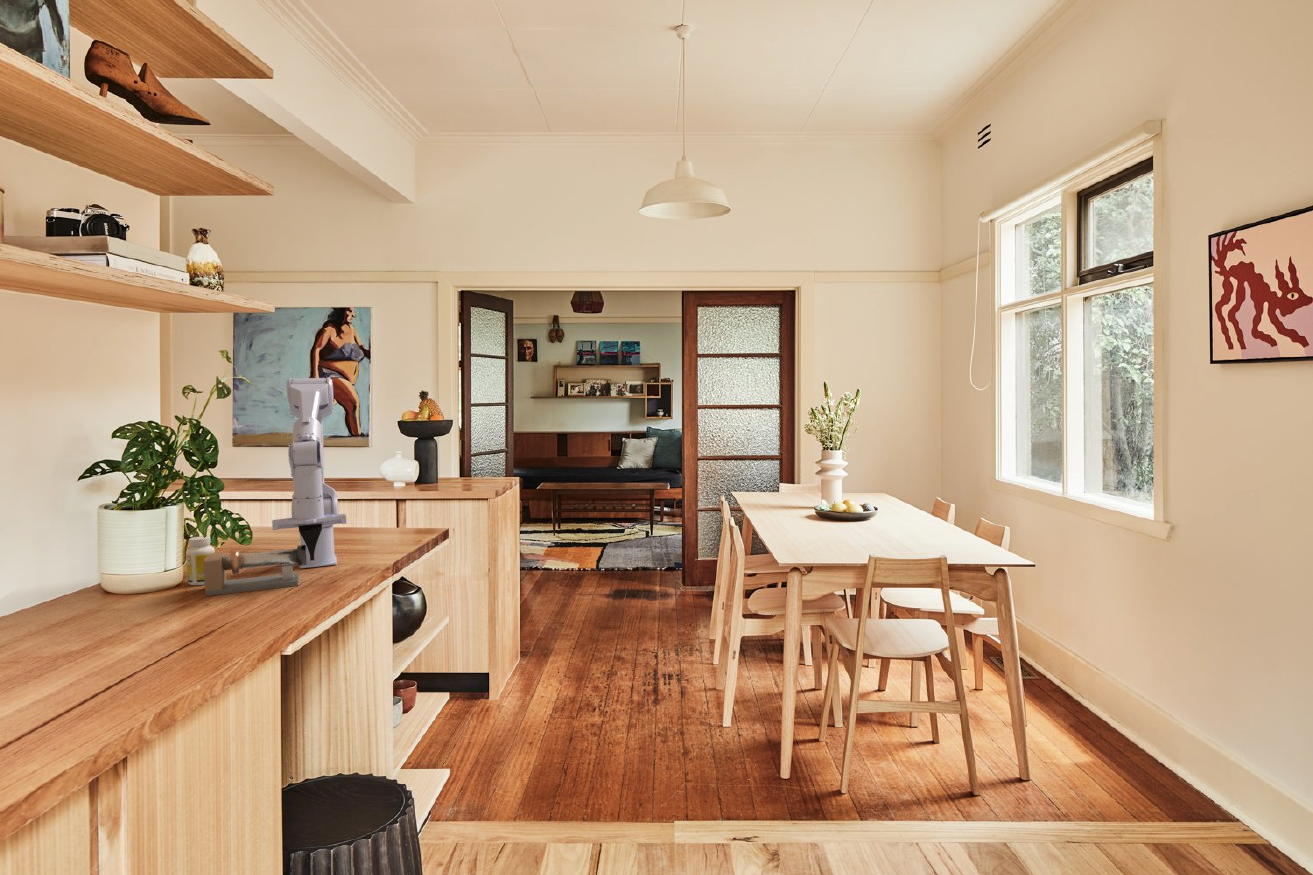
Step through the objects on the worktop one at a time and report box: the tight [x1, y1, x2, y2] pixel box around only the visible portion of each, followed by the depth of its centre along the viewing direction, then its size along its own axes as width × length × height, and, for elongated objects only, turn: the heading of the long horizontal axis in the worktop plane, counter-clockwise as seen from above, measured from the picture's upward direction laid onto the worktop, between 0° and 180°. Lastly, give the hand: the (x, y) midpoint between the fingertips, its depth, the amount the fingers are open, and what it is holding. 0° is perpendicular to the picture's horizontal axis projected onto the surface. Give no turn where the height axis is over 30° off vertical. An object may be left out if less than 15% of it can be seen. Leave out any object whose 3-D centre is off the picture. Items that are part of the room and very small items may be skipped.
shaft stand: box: [203, 552, 300, 597], centre depth 166 cm, size 8×17×7 cm, turn 113°
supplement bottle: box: [185, 535, 216, 586], centre depth 170 cm, size 5×5×10 cm
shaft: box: [223, 544, 307, 575], centre depth 167 cm, size 5×16×5 cm, turn 113°
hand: (312, 559), depth 171 cm, fingers closed
